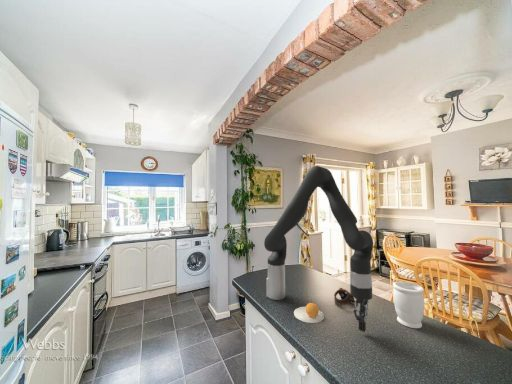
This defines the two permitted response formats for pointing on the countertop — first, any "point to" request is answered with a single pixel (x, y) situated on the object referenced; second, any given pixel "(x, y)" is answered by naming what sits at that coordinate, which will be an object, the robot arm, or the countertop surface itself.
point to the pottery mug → (343, 297)
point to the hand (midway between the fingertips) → (362, 330)
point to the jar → (408, 303)
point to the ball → (312, 310)
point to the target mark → (307, 316)
